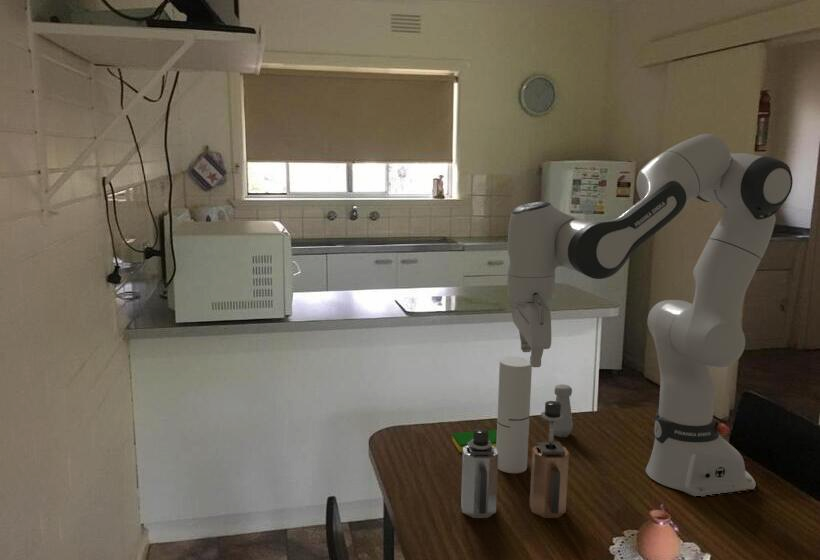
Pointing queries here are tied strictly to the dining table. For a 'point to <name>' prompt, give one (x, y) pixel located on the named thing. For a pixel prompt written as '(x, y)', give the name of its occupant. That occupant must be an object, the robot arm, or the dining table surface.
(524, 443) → the cylindrical container
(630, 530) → the dining table surface
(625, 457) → the dining table surface
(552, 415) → the copper press plunger
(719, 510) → the dining table surface
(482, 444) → the steel press plunger
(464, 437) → the dish sponge
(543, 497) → the copper press carafe
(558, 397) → the salt shaker
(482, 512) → the steel press carafe
